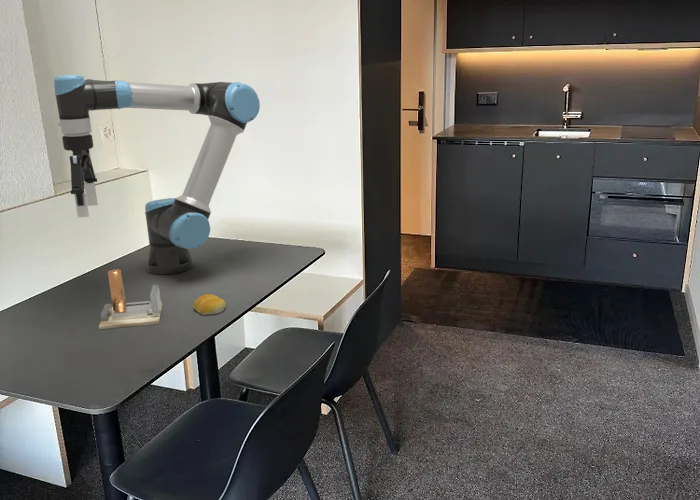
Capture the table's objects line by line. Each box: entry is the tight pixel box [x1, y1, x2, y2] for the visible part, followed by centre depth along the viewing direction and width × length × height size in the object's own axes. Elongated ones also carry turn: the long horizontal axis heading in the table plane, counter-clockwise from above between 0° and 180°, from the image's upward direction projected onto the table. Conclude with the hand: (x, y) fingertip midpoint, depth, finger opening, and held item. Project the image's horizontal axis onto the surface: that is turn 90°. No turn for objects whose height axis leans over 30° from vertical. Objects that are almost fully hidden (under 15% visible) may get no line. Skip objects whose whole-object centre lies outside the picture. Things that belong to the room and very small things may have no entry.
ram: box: [107, 268, 162, 316], centre depth 173 cm, size 8×12×12 cm, turn 101°
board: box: [98, 301, 163, 330], centre depth 175 cm, size 14×15×1 cm
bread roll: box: [193, 293, 227, 316], centre depth 179 cm, size 8×9×4 cm
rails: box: [100, 300, 151, 321], centre depth 174 cm, size 7×12×2 cm, turn 101°
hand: (88, 210), depth 179 cm, fingers open, 13 cm apart
